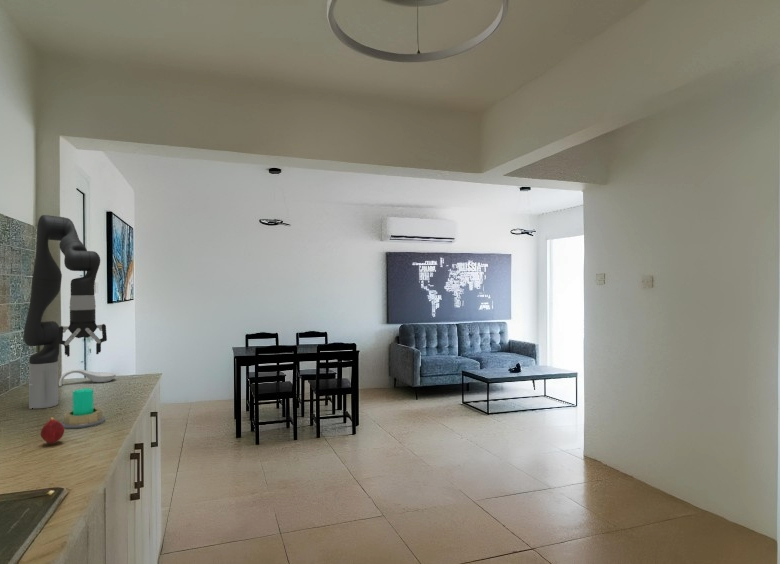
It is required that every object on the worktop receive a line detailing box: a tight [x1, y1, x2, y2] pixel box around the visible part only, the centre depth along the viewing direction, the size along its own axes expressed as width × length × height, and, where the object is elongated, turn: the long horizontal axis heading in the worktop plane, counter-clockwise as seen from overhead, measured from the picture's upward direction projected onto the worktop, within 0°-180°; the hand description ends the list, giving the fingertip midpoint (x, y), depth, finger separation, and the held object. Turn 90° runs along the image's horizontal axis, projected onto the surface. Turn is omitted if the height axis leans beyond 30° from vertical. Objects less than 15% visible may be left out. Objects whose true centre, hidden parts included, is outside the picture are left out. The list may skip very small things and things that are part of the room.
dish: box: [60, 415, 106, 430], centre depth 169 cm, size 13×13×1 cm
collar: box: [63, 407, 103, 425], centre depth 169 cm, size 11×11×3 cm
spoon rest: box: [58, 369, 117, 387], centre depth 235 cm, size 24×12×7 cm, turn 126°
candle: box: [72, 388, 94, 415], centre depth 169 cm, size 6×6×12 cm
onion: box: [40, 416, 65, 445], centre depth 148 cm, size 6×6×8 cm
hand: (83, 355), depth 169 cm, fingers open, 8 cm apart
